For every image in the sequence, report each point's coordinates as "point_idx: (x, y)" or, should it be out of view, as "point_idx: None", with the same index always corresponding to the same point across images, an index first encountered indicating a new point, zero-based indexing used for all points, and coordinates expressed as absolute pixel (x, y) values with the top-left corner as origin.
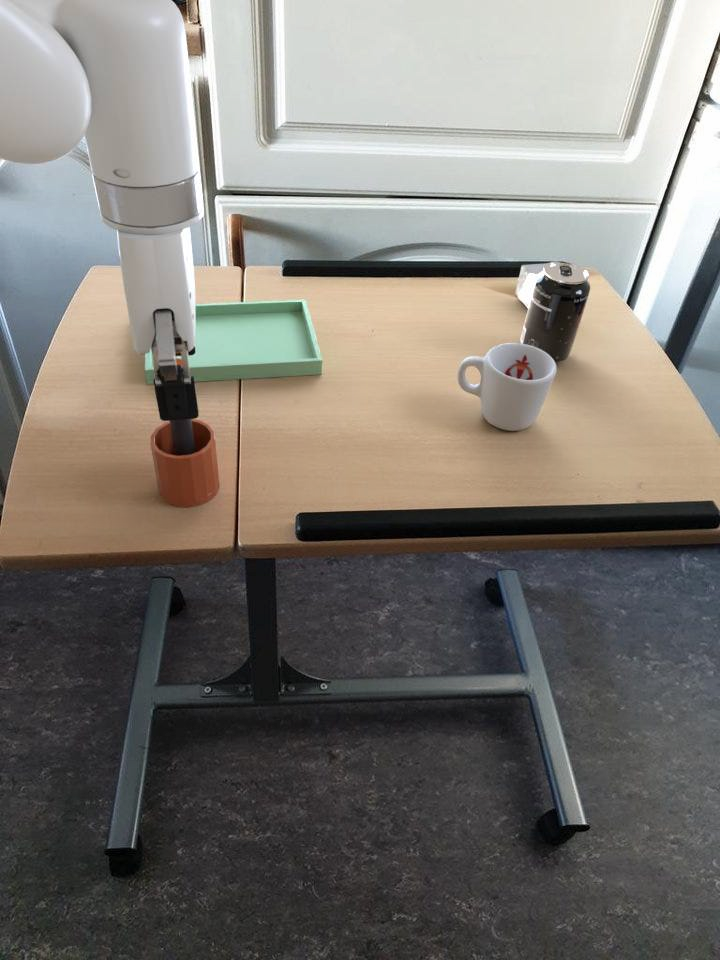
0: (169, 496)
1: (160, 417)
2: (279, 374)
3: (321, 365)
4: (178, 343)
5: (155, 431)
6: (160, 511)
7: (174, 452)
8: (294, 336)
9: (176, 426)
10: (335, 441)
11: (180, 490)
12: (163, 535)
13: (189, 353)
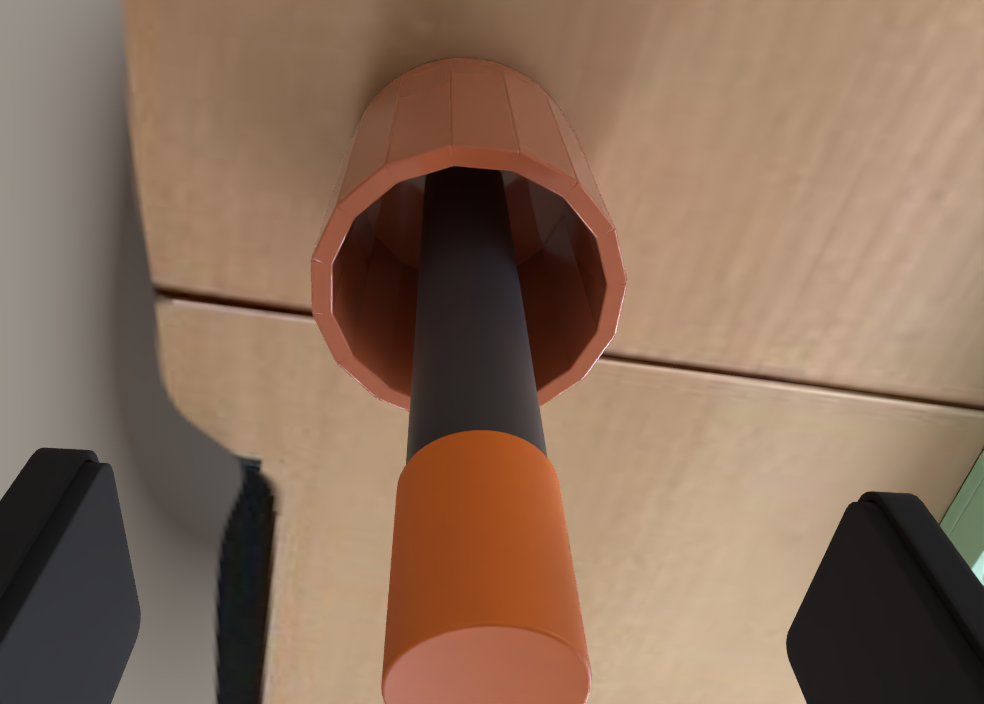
0: (372, 108)
1: (28, 461)
2: (948, 525)
3: None
4: (857, 670)
5: (550, 178)
6: (341, 49)
7: (457, 219)
8: None
9: (420, 338)
10: None
11: (338, 174)
12: (201, 48)
13: (796, 638)
